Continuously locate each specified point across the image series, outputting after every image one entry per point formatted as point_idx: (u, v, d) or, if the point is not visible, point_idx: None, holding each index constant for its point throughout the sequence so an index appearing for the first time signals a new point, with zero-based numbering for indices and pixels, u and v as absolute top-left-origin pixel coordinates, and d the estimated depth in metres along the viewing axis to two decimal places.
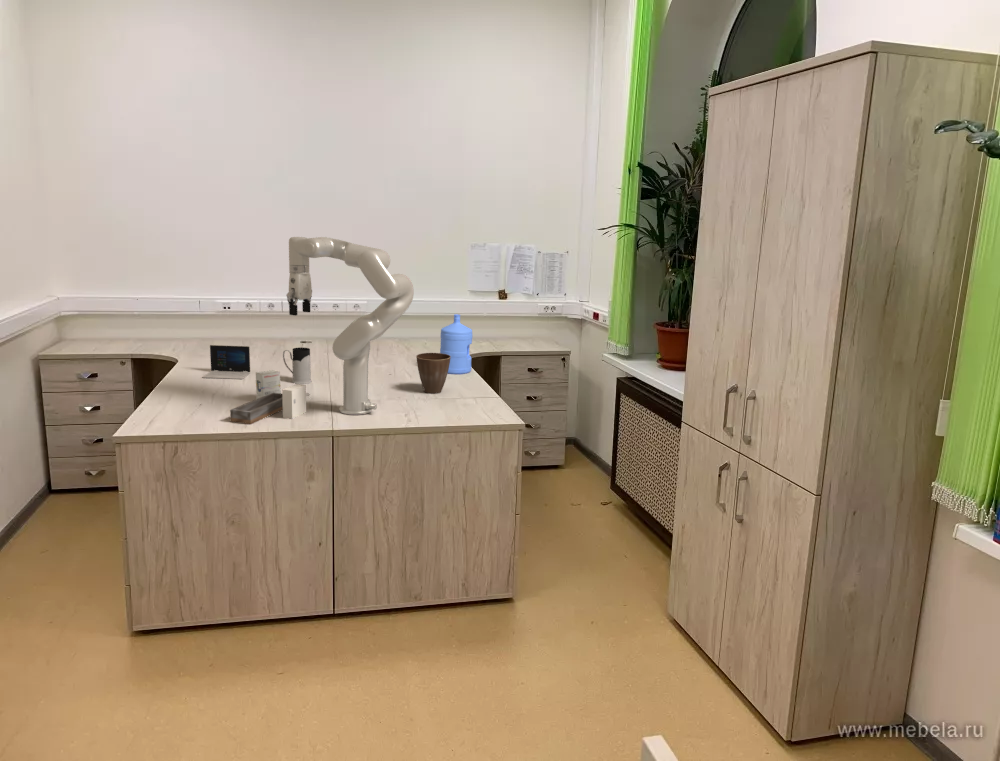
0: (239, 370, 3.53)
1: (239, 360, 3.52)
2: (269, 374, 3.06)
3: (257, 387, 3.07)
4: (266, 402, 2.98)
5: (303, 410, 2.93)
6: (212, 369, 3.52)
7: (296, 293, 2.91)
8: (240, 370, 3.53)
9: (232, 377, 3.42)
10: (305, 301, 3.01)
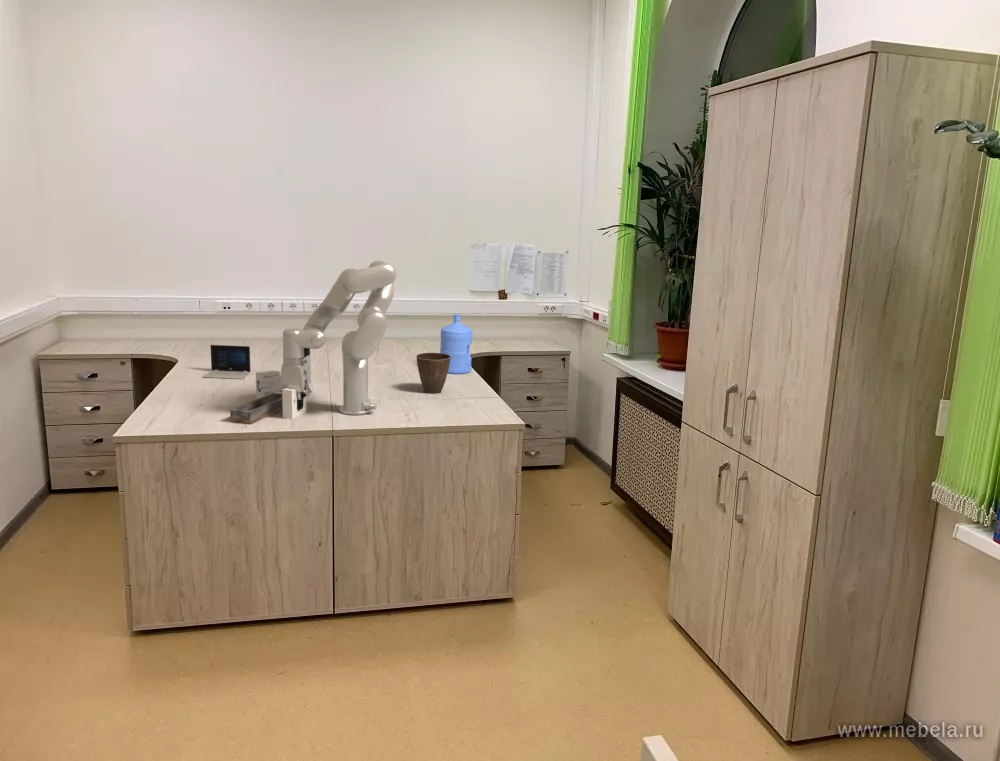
0: (239, 370, 3.53)
1: (239, 360, 3.52)
2: (269, 374, 3.06)
3: (257, 387, 3.07)
4: (266, 402, 2.98)
5: (303, 410, 2.93)
6: (212, 369, 3.53)
7: (308, 384, 2.88)
8: (240, 370, 3.53)
9: (232, 377, 3.43)
10: None
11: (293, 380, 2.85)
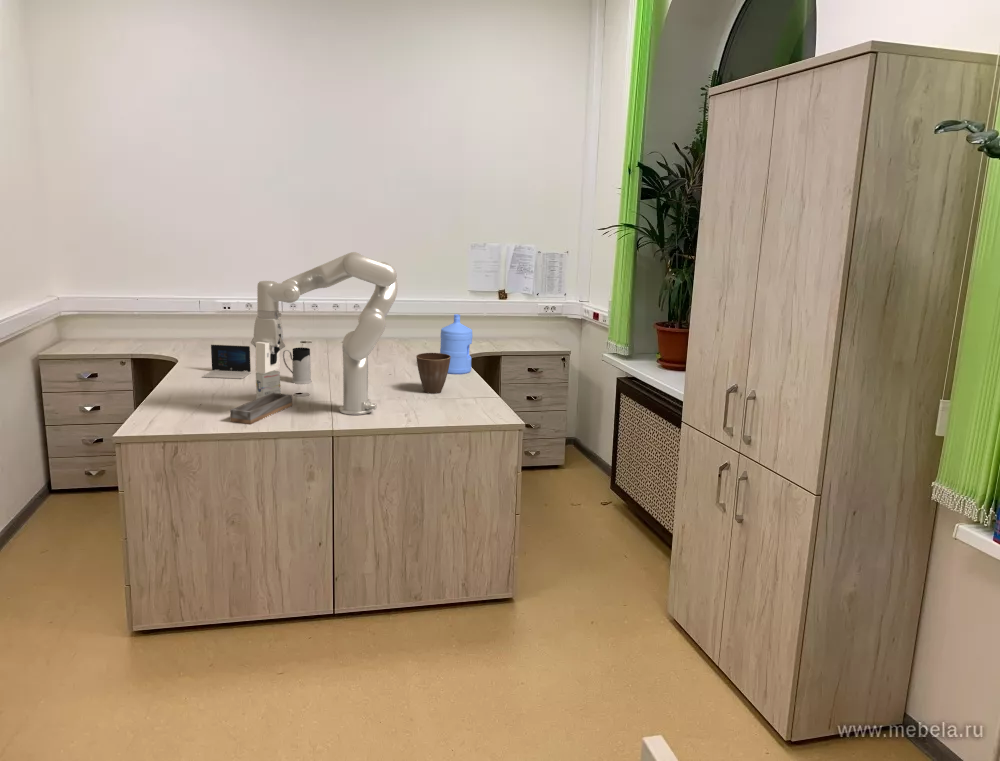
0: (240, 370, 3.54)
1: (239, 360, 3.52)
2: (269, 374, 3.06)
3: (257, 387, 3.07)
4: (266, 402, 2.98)
5: (276, 365, 2.89)
6: (213, 368, 3.53)
7: (282, 338, 2.84)
8: (241, 370, 3.54)
9: (232, 377, 3.43)
10: None
11: (267, 333, 2.81)
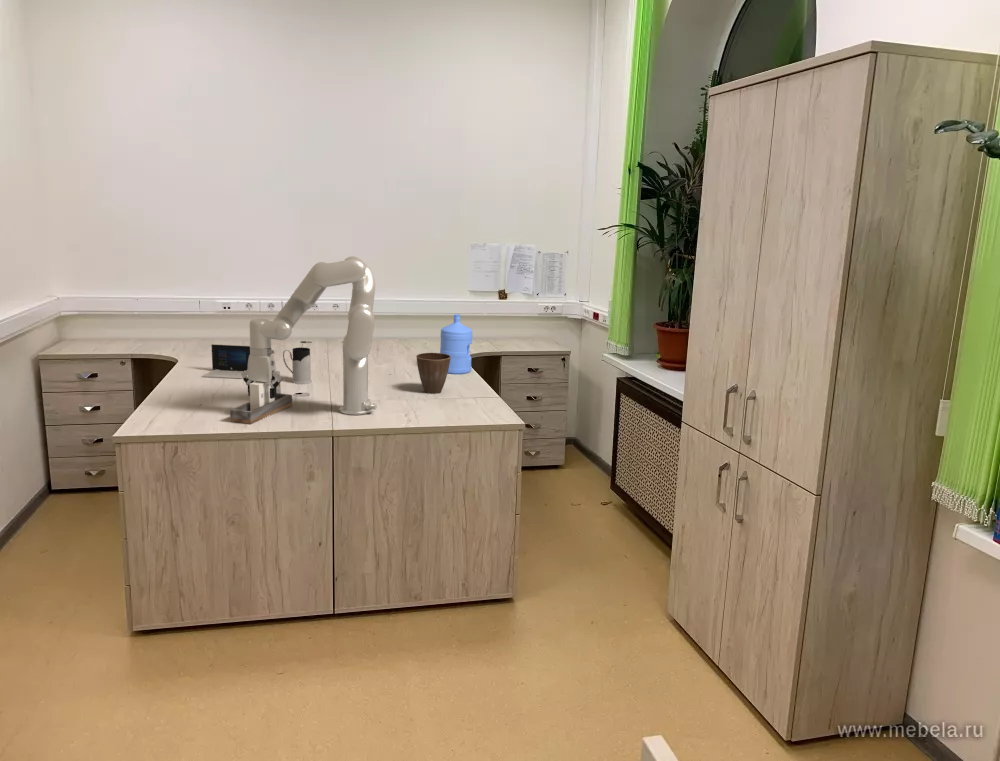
0: (240, 370, 3.54)
1: (240, 359, 3.53)
2: None
3: None
4: None
5: None
6: (213, 368, 3.54)
7: None
8: (241, 370, 3.54)
9: (232, 376, 3.43)
10: None
11: (260, 371, 2.84)
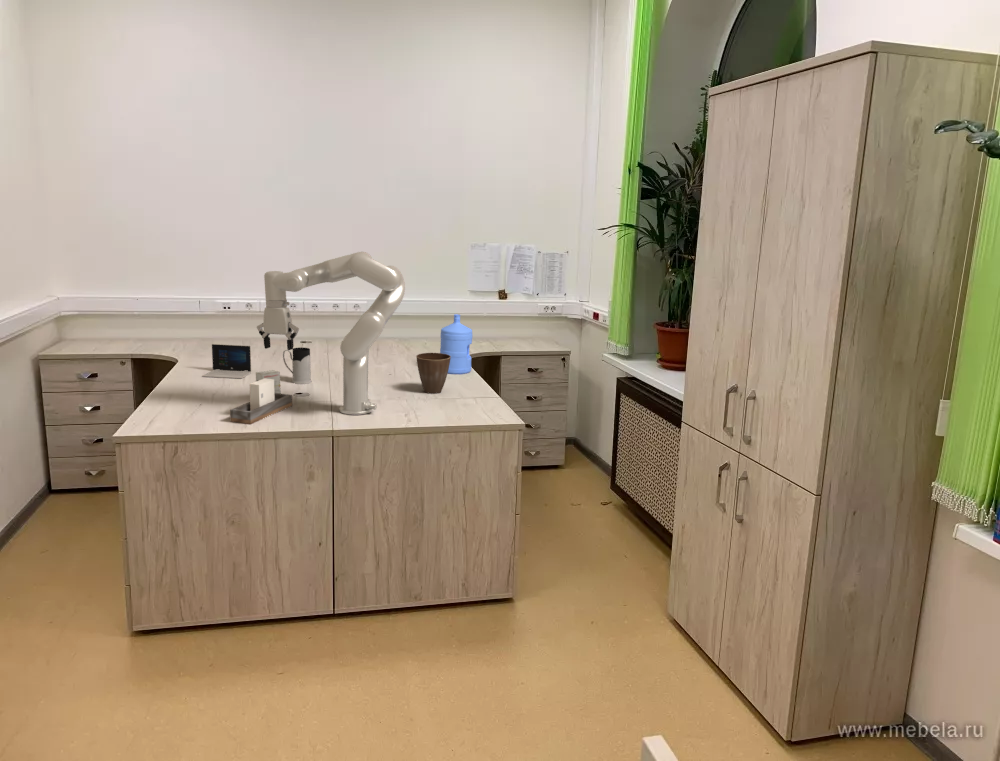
0: (240, 369, 3.54)
1: (240, 359, 3.53)
2: (269, 374, 3.06)
3: None
4: None
5: None
6: (214, 368, 3.54)
7: None
8: (241, 369, 3.54)
9: (231, 376, 3.43)
10: (267, 337, 2.92)
11: (276, 323, 2.87)
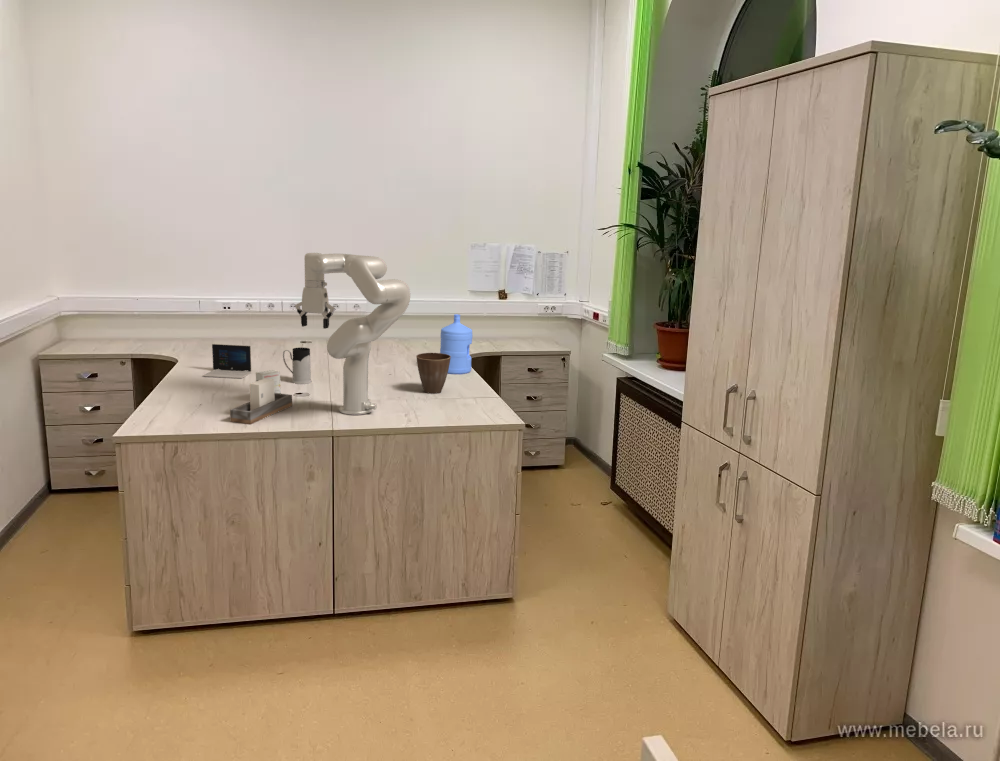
0: (240, 369, 3.54)
1: (240, 359, 3.53)
2: (269, 374, 3.06)
3: None
4: None
5: None
6: (214, 368, 3.55)
7: None
8: (241, 369, 3.54)
9: (231, 376, 3.44)
10: (304, 315, 3.06)
11: (314, 302, 3.01)
